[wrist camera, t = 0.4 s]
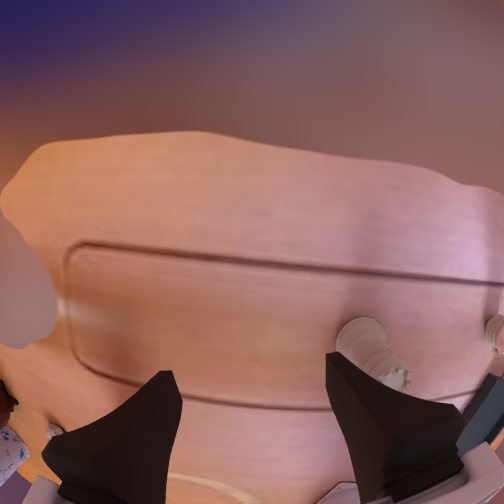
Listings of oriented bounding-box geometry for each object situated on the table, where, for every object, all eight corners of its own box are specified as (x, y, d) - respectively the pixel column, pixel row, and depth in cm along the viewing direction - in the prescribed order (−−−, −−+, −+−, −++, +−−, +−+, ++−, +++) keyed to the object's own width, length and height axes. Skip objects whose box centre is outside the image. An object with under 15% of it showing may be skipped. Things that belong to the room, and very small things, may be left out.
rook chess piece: (348, 307, 22) (386, 347, 14) (390, 324, 22) (435, 363, 14) (325, 353, 22) (348, 407, 15) (366, 367, 22) (400, 417, 15)
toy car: (63, 425, 25) (52, 436, 22) (88, 464, 26) (80, 476, 23) (46, 420, 26) (36, 431, 23) (71, 460, 26) (62, 470, 23)
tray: (463, 463, 24) (468, 469, 22) (420, 464, 24) (425, 473, 22) (520, 385, 22) (528, 390, 20) (488, 372, 22) (497, 379, 20)
